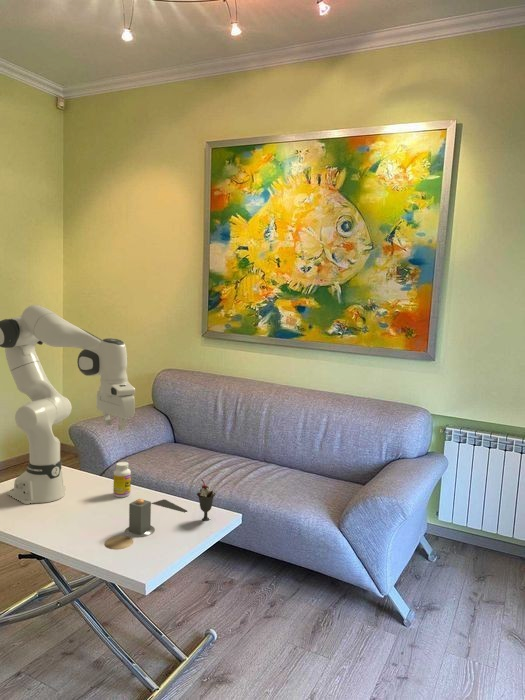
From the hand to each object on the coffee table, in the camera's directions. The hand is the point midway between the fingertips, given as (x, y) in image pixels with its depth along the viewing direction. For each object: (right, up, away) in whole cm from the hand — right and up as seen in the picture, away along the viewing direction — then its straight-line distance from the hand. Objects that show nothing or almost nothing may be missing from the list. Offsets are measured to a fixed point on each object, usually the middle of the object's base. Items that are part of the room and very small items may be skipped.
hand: (115, 427), depth 173 cm
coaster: (+4, -36, -9) cm, 38 cm away
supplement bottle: (-7, -32, +32) cm, 46 cm away
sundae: (+30, -36, +11) cm, 47 cm away
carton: (+8, -35, 0) cm, 36 cm away
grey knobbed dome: (+8, -36, 0) cm, 37 cm away
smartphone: (+14, -35, +21) cm, 43 cm away
